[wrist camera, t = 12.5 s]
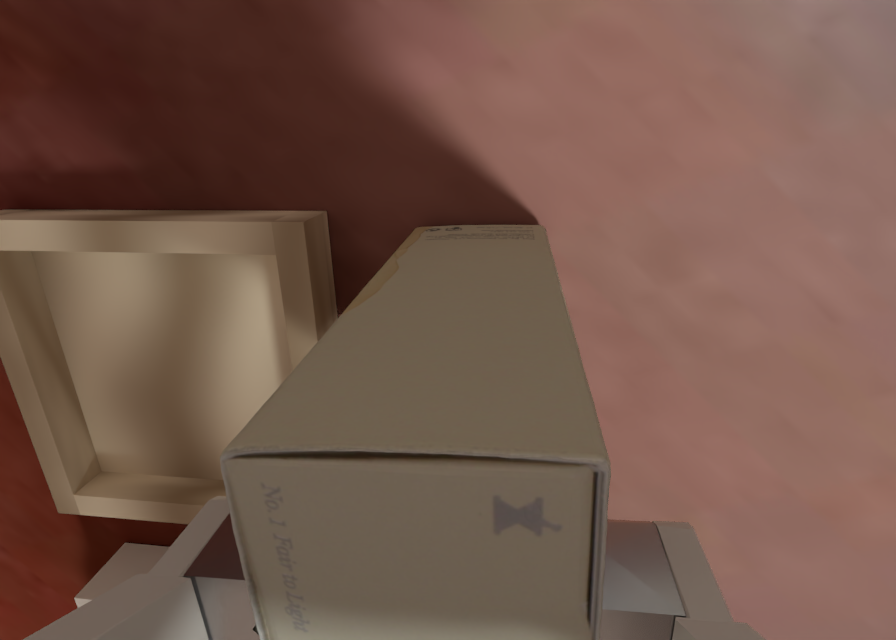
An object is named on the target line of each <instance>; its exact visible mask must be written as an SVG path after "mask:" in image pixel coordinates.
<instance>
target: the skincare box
mask: <svg viewBox="0 0 896 640" xmlns="http://www.w3.org/2000/svg"><path fill="white" fill-rule="evenodd" d="M220 465H221V472H222V477H223V481H224V485H225V491H226V498H227V503H228V506H229V510H230V516H231V522H232V528H233V533H234V536H235V540H236V545H237V548H238V552H239V556H240V561H241V566H242V570H243V575H244V578H245V581H246V585H247V589H248V594H249V599H250V603H251V607H252V611H253V615H254V619H255V624H256V628H257V631H258V633H259V636H260V640H600V626H601V616H602V603H603V584H604V569H605V553H606V536H607V510H608V497H609V485H610V478H611V469H610V460H609V457H608V453H607V450H606V446H605V443H604V439H603V436H602V432H601V428H600V425H599V421H598V417H597V413H596V409H595V405H594V402H593V398H592V395H591V392H590V388H589V385H588V382H587V378H586V375H585V372H584V368H583V364H582V360H581V356H580V352H579V348H578V345H577V342H576V338H575V334H574V331H573V327H572V323H571V320H570V316H569V313H568V309H567V305H566V302H565V298H564V295H563V292H562V288H561V284H560V280H559V277H558V273H557V269H556V266H555V262H554V259H553V255H552V252H551V248H550V244H549V241H548V237H547V234H546V230H545V228H544V227H543V226H541V225H451V226H430V227H417V228H415V229H414V230H413V232H412V233H411V234H410V235H409V236H408V237H407V239H406V240H405V241H404V242H403V243H402V244H401V245H400V247H399V248H398V249H397V250H396V251H395V252H394V253H393V255H392V256H391V257H390V258H389V259H388V261H387V262H386V263H385V264H384V265H383V266H382V268H381V269H380V270H379V271H378V272H377V273H376V274H375V275H374V277H373V278H372V279H371V280H370V281H369V282H368V284H367V285H366V286H365V287H364V288H363V289H362V291H361V292H360V293H359V294H358V296H357V297H356V298H355V299H354V300H353V301H352V302H351V303H350V305H349V306H348V307H347V308H346V309H345V311H344V312H343V313H342V314H341V315H340V316H339V318H338V319H337V320H336V321H335V322H334V323H333V325H332V326H331V327H330V328H329V329H328V331H327V332H326V333H325V334H324V335H323V336H322V337H321V339H320V340H319V341H318V342H317V343H316V344H315V345H314V347H313V348H312V349H311V350H310V351H309V352H308V354H307V355H306V356H305V357H304V358H303V359H302V361H301V362H300V363H299V364H298V365H297V366H296V368H295V369H294V370H293V371H292V372H291V373H290V375H289V376H288V377H287V378H286V379H285V380H284V382H283V383H282V384H281V385H280V386H279V388H278V389H277V390H276V391H275V392H274V393H273V394H272V395H271V397H270V398H269V399H268V400H267V401H266V402H265V403H264V404H263V405H262V407H261V408H260V409H259V410H258V411H257V413H256V414H255V415H254V416H253V417H252V418H251V420H250V421H249V422H248V423H247V424H246V426H245V427H244V428H243V429H242V430H241V431H240V432H239V433H238V435H237V436H236V437H235V438H234V439H233V440H232V441H231V442H230V444H229V445H228V446H227V447H226V448H225V449H224V450H223V452H222V454H221V456H220Z"/></svg>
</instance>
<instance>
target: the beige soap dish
mask: <svg viewBox="0 0 896 640" xmlns="http://www.w3.org/2000/svg"><path fill="white" fill-rule="evenodd" d="M337 319H338V316H337V306H336V296H335V287H334V277H333V267H332V257H331V247H330V238H329V228H328V218H327V211H245V210H31V209H6V210H0V357H1V360H2V362H3V365H4V368H5V370H6V373H7V376H8V378H9V381H10V384H11V387H12V389H13V392H14V395H15V397H16V400H17V403H18V405H19V408H20V411H21V414H22V416H23V419H24V422H25V424H26V427H27V430H28V432H29V435H30V438H31V440H32V443H33V446H34V449H35V451H36V454H37V457H38V459H39V462H40V465H41V467H42V470H43V473H44V475H45V478H46V481H47V484H48V486H49V489H50V492H51V494H52V497H53V500H54V502H55V505H56V508H57V510H58V513H64V514H75V515H87V516H98V517H110V518H121V519H133V520H144V521H156V522H167V523H179V524H189V523H190V522H191V521H192V520H193V518H194V517H195V516H196V515H197V514H198V512H199V511H200V510H201V509H202V508H203V506H204V505H205V504H206V503H207V502H208V501H209V500H210V499H212V498H214V497H216V496H225V497H226V491H225V485H224V481H223V477H222V472H221V465H220V456H221V454H222V452H223V450H224V449H225V448H226V447H227V446H228V445H229V444H230V442H231V441H232V440H233V439H234V438H235V437H236V436H237V435H238V433H239V432H240V431H241V430H242V429H243V428H244V427H245V426H246V424H247V423H248V422H249V421H250V420H251V418H252V417H253V416H254V415H255V414H256V413H257V411H258V410H259V409H260V408H261V407H262V405H263V404H264V403H265V402H266V401H267V400H268V399H269V398H270V397H271V395H272V394H273V393H274V392H275V391H276V390H277V389H278V388H279V386H280V385H281V384H282V383H283V382H284V380H285V379H286V378H287V377H288V376H289V375H290V373H291V372H292V371H293V370H294V369H295V368H296V366H297V365H298V364H299V363H300V362H301V361H302V359H303V358H304V357H305V356H306V355H307V354H308V352H309V351H310V350H311V349H312V348H313V347H314V345H315V344H316V343H317V342H318V341H319V340H320V339H321V337H322V336H323V335H324V334H325V333H326V332H327V331H328V329H329V328H330V327H331V326H332V325H333V323H334V322H335V321H336V320H337Z"/></svg>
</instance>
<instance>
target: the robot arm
mask: <svg viewBox="0 0 896 640" xmlns="http://www.w3.org/2000/svg"><path fill="white" fill-rule="evenodd" d="M23 640H260V636H259V633H258V631H257V628H256V624H255V619H254V615H253V611H252V607H251V603H250V599H249V594H248V589H247V585H246V581H245V578H244V575H243V570H242V566H241V561H240V556H239V552H238V548H237V545H236V540H235V536H234V533H233V528H232V522H231V516H230V510H229V506H228V503H227V498H226V497H225V496H216V497H214V498H212V499H210V500H209V501H208V502H207V503H206V504H205V505H204V506H203V508H202V509H201V510H200V511H199V512H198V514H197V515H196V516H195V517H194V518H193V520H192V521H191V522H190V523H189V525H188V526H187V527H186V528H185V529H184V531H183V532H182V533H181V534H180V535H179V537H178V538H177V539H176V540H175V541H174V543H173V544H172V545H171V546H170V547H169V549H168V550H167V551H166V552H165V554H164V555H163V556H162V557H161V558H160V560H159V561H158V562H157V563H156V564H155V566H154V567H153V568H152V569H151V570H150V572H149V573H148V574H137V575H135V576H133V577H131V578H130V579H128V580H126V581H124V582H123V583H121V584H119V585H117V586H116V587H114V588H112V589H110V590H109V591H107V592H105V593H103V594H102V595H100V596H98V597H96V598H95V599H93V600H91V601H90V602H88V603H86V604H84V605H83V606H81V607H79V608H77V609H76V610H74V611H72V612H70V613H69V614H67V615H65V616H63V617H62V618H60V619H58V620H56V621H55V622H53V623H51V624H49V625H48V626H46V627H44V628H42V629H41V630H39V631H37V632H35V633H34V634H32V635H30V636H28V637H27V638H25V639H23ZM600 640H766V639H765V638H763V637H762V636H761V635H760V634H759V633H758V632H756V631H755V630H754V629H753V628H752V627H751V626H749V625H748V624H747V623H741V622H734V620H733V618H732V615H731V613H730V611H729V608H728V606H727V604H726V601H725V599H724V597H723V595H722V592H721V590H720V588H719V585H718V583H717V581H716V578H715V576H714V574H713V571H712V569H711V567H710V565H709V562H708V560H707V558H706V555H705V553H704V551H703V548H702V546H701V544H700V541H699V539H698V537H697V534H696V532H695V530H694V528H693V527H692V526H691V525H690V524H689V523H688V522H664V521H653V522H650V521H630V520H610V519H607V536H606V553H605V569H604V584H603V603H602V616H601V626H600Z"/></svg>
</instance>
